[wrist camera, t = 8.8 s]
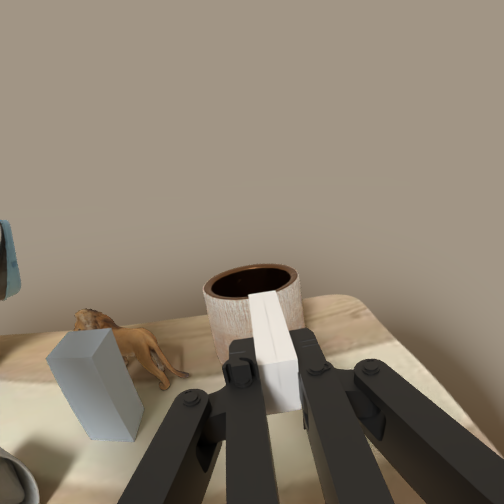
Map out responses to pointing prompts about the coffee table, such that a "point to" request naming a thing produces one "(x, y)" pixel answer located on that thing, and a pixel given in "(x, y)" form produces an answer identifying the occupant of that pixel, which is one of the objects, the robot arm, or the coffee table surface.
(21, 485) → the ceramic mug
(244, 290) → the planter
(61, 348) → the slate block
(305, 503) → the coffee table surface
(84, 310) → the lion figurine
